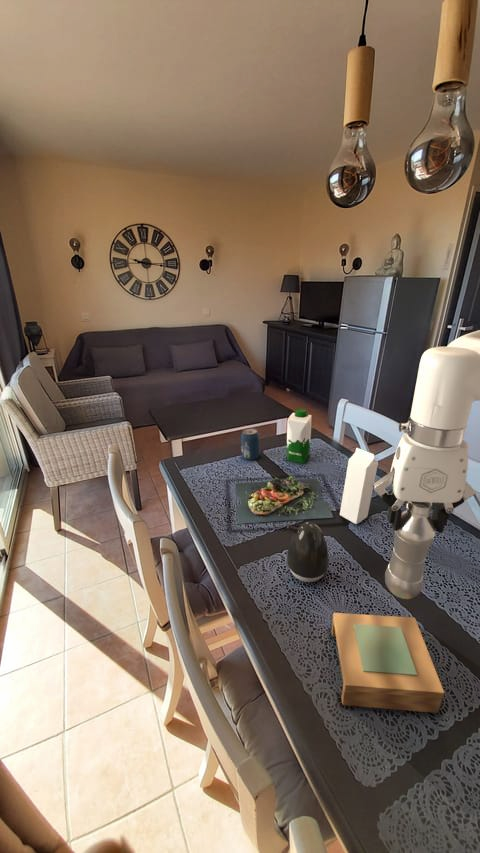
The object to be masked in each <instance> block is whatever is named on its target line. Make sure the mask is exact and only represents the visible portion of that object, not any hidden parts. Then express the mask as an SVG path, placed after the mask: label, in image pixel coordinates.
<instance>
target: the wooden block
mask: <svg viewBox="0 0 480 853" xmlns="http://www.w3.org/2000/svg"><path fill="white" fill-rule="evenodd" d="M331 637H332V638H335V640H336V646H337V651H338V658H339V664H340V671H341V677H342V683H343V684H342V690H341V697H340V698H341V703H342V704H341V706H350V707H360V708H374V709H385V710H387V709H388V710H398V711H399V710H400V711H409V712H421V713H434V714H439V711H440V708H441V705H442V701H443V699H444V697H445V696H444V695H445V690H444V688H443V686H442V685H443V684H442V683H441V681H440V678H439V675H438V673H437V670H436V667H435V665H434V663H433V660H432V658H431V655H430V651H429V650H428V648H427V645H426V642H425V639H424V637H423V634H422V632H421V630H420V626H419V625H418V622H417V620H416V617H413V616H412V617H411V616H394V615H377V614H363V613H361V614H360V613H345V612H333V614H332V623H331Z"/></svg>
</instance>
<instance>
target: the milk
mask: <svg viewBox="0 0 480 853" xmlns="http://www.w3.org/2000/svg"><path fill="white" fill-rule="evenodd" d="M375 456H376V455H375V454H374V453H372V452H369V451H367V450H364V449H361V448H359V447H356V448H355V452H354V453H353V454H352V455H351V456H350V458H349V459H348V462H347V468H346V475H345V480H344V486H343V492H342V498H341V504H340V508H339V509H340V510H339V516H340V517H342V518H344V519H346V520H347V521H350V522H351V523H353V524H355V525H358V524H359V523H361V522H363V520H365V519H366V518H368V516H369V511H370V506H371V501H372V496H373V490H374V488H373V486H372V485H373V483H375V482H376V475H377V471H378V466H379V461H377V460H375Z"/></svg>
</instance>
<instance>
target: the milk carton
mask: <svg viewBox="0 0 480 853" xmlns="http://www.w3.org/2000/svg"><path fill="white" fill-rule="evenodd" d="M286 422H287V423H286V426H287V427H286V461H288V462H293V463H300V464H305V463H306V461H307V459H308V457H309V455H310V450H311V440H312V439H311V436H312V414H308V413H307V409H305V408H297V409H295V412H292V413H291V414H290V415H289V417H288V418H287V421H286Z"/></svg>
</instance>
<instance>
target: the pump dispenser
mask: <svg viewBox="0 0 480 853" xmlns="http://www.w3.org/2000/svg"><path fill="white" fill-rule="evenodd" d="M286 530H288V531H290V532H291V533H293V535H292V537H291V539H290V542H289V545H288V548H287V553H286V564H287V566H288V568H289V570H290V572H291V575H293V576H294V577H295V578H296V579H298V580H299V581H302V582H305V583H313V582H314V583H315V582H317V581H318V580H320V579H321V578H323V577H324V575H325V574H326V572H327V571H328V569H329V563H330V559H329V558H330V556H329V549H328V544H327V540H326V538H325V536H324V533H323V531H322V530H321V528H320V527H319V526H318V525H317V523H315V522H313V521H305V522H302V523H301V524H300V525H299V526H298V527H297V526H294V525H289V524H288V525H287V526H286Z"/></svg>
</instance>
